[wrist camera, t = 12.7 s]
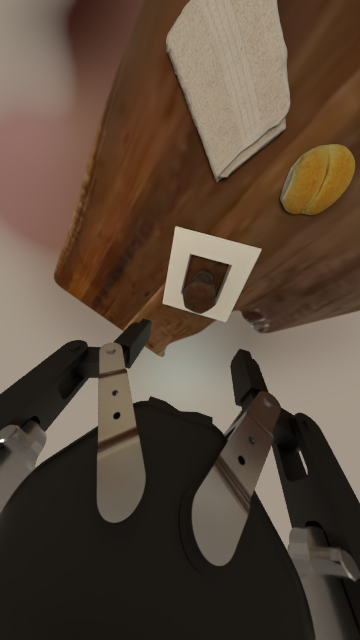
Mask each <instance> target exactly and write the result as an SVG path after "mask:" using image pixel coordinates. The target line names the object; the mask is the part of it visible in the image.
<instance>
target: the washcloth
mask: <svg viewBox="0 0 360 640" xmlns="http://www.w3.org/2000/svg"><path fill="white" fill-rule="evenodd" d="M166 47H167V53H168V54H169V57H170V59H171V63H172V64H173V68H174V70H175V75H177V77H178V80H179V84H180V85H181V87H182V90H183V92H184V95H185V98H186V100H187V101H186V103H187V104H188V107H189V110H190V112H191V114H192V119H193V121H194V124H195V126H196V127H197V130H198V133H199V134H200V137H201V140H202V143H203V146H204V149H205V151H206V155H207V157H208V160H209V162H210V166H211V169H212V172H213V174H214V178H215V180H216V182H218V181H219V180H220V179H221V178H223V177H228V175H229V174H231V173H232V172H234V171H235V170H236V169H237V168H239V167H240V166H241V165H242V164H243V163H245V162H246V161H247V160H248V159H249V158H250V157H252V156H253V155H254V154H255V153H257V152H258V151H259V150H261V149H262V148H263V147H264V146H266V145H267V144H268V143H269V142H271V141H272V140H273V139H274V138H276V137H277V136H278V135H279V134H280V133H281V132H283V131H284V130H285V129H286V124H285V123H286V119H285V116H286V114H287V112H288V111H289V107H290V92H289V87H288V80H287V48H286V45H285V42H284V39H283V34H282V29H281V25H280V20H279V14H278V7H277V0H190V2H188V4H187V5H186V6H185V7H184V9H183V11H182V13H181V15H180V16H179V17H178V19H177V20H176V22H175V24H174V26H173V27H172V28H171V30H170V32H169V33H168V36H167V40H166Z"/></svg>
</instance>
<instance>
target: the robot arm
mask: <svg viewBox="0 0 360 640" xmlns="http://www.w3.org/2000/svg"><path fill="white" fill-rule="evenodd" d="M151 323H152V322H151V321H149V320H146V319H142V320H141V321H140V322H139V323H137V322H135V323H133V324H131V325H130V326H129V327H128V328H127V329H126V330H125V331H124V332H123V333H122V334H121V335H120V336H119V337H118V338H117V339H116V340H115V341H114V342H113V343H108V344H105V345H103V346H102V347H88V345H87V343H86V342H85V341H81V340H75V341H71V342H68V343H66V344H65V345H64V346H62V347H61V348H60V349H58V350H57V351H56V352H54V353H53V354H52V355H51V356H49V357H48V358H47V359H45V360H44V361H43V362H41V363H40V364H39V365H38V366H36V367H35V368H34V369H32V370H31V371H30V372H29V373H27V374H26V375H25V376H23V377H22V378H21V379H19V380H18V381H17V382H15V383H14V384H13V385H12V386H10V387H9V388H8V389H7V390H5V391H4V392H3V393H1V394H0V640H360V503H359V501H358V499H357V497H356V495H355V493H354V491H353V490H352V488H351V486H350V484H349V482H348V480H347V478H346V476H345V475H344V473H343V471H342V469H341V467H340V465H339V463H338V461H337V459H336V457H335V456H334V454H333V452H332V450H331V448H330V446H329V444H328V442H327V441H326V439H325V437H324V435H323V433H322V431H321V429H320V428H319V426H318V425H317V424H316V423H315V422H314V421H313V420H312V419H311V418H310V417H308V416H307V415H305V414H303V413H297V414H295V415H292V414H291V413H289V412H287V411H286V410H284V409H283V408H281V406H280V404H279V402H278V401H277V400H276V398H275V397H274V396H273V395H271V394H270V393H269V392H268V390H267V387H266V385H265V382H264V379H263V377H262V373H261V371H260V368H259V365H258V364H257V362H256V361H255V360H254V359H252V357H251V354H250V352H249V351H245V350H242V349H239V350H238V352H237V354H236V355H235V357H234V358H233V360H232V362H231V374H232V382H233V389H234V396H235V402H236V405H238V406H241V407H242V411H241V412H240V413H239V415H238V416H237V417H236V419H235V420H234V421H233V423H232V424H231V426H230V427H229V429H228V430H227V431H226V432H225V434H223V433H222V432H221V431H220V430H219V429H218V428H217V427H216V426H215V425H214V424H212V417H209V416H206V415H203V414H201V413H198V412H182V411H179V410H177V409H176V408H174V407H173V406H171V405H170V404H168V403H167V402H165V401H163V400H160V399H157V398H154V397H151V396H150V398H149V401H140V402H136V403H132V398H131V392H130V386H129V380H128V374H127V370H126V369H125V367H126V368H130V367H131V366H132V364H133V363H134V361H135V360H136V358H137V357H138V355H139V353H140V352H141V350H142V349H143V347H144V346H145V344H146V343H147V341H148V339H149V336H150V331H151ZM88 378H98V381H99V382H98V384H99V385H98V426H97V427H95V428H94V429H92V430H91V431H89V432H88V433H86V434H85V435H83V436H82V437H80V438H79V439H77V440H76V441H74V442H73V443H71V444H70V445H68V446H67V447H65V448H63V449H62V450H60V451H59V452H57V453H56V454H54V455H53V456H51V457H50V458H48V459H47V460H45V461H44V462H42V463H41V464H40V465H39V466H37V467H36V468H35V464H36V460H37V458H38V455H39V454H40V452H41V451H42V449H43V447H44V445H45V443H46V434H45V431H46V430H47V429H48V427H49V426H50V425H51V424H52V423H53V421H54V420H55V419H56V418H57V416H58V415H59V414H60V412H62V410H63V409H64V408H65V407H66V405H67V404H68V403H69V402H70V400H71V399H72V398H73V397H74V396H75V394H76V393H77V392H78V391H79V389H80V388H81V387H82V386H83V384H84V383H85V382H86V381H87V380H88ZM271 445H272V448H273V452H274V456H275V460H276V464H277V468H278V473H279V476H280V480H281V484H282V489H283V493H284V497H285V501H286V505H287V509H288V513H289V518H290V522H291V525H292V530H291V531H290V535H289V543H290V544H289V545H288V551H287V549H286V548H285V546H284V544H283V542H282V540H281V538H280V536H279V535H278V533H277V531H276V529H275V527H274V526H273V524H272V522H271V520H270V518H269V516H268V514H267V512H266V511H265V509H264V507H263V505H262V503H261V501H260V500H259V498H258V496H257V494H256V492H255V490H254V489H255V486H256V484H257V481H258V479H259V476H260V473H261V471H262V468H263V466H264V463H265V461H266V458H267V456H268V453H269V451H270V448H271ZM299 451H301V453H302V455H303V458H304V460H305V463H306V466H307V469H308V475H307V474H306V471H305V469H304V466H303V463H302V461H301V458H300V455H299Z"/></svg>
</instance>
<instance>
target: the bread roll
mask: <svg viewBox="0 0 360 640" xmlns="http://www.w3.org/2000/svg"><path fill="white" fill-rule="evenodd" d="M354 171H355V160H354V157H353V155H352V153H351V152H350V151H349V150H348V149H347V148H346V147H345V146H342V145H339V144H331V145H322V146H318V147H316V148H314V149H311V150H310V151H308V152H306V153H304V154H303V155H302V156H301V157H300V158H299V159H298V160H297V161H296V163H295V164H294V165H293V166H292V167H291V169H290V171H289V173H288V176H287V178H286V180H285V183H284V186H283V189H282V193H281V197H280V201H281V202H282V204H283V207H284V209H285V210H286V211H288V212H289V213H291V214H299V213H303V214H306V215H315V214H318V213H320V212H322V211H323V210H325V209H327V208H328V207H329V206H331V205H332V204H333V203H334V202H335V201H336V200H337V199H338V198H339V197H340V196H341V195H342V194H343V192H344V191H345V190H346V188H347V187H348V185H349V184H350V182H351V180H352V177H353V174H354Z"/></svg>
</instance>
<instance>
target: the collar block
mask: <svg viewBox="0 0 360 640" xmlns="http://www.w3.org/2000/svg"><path fill="white" fill-rule="evenodd" d="M261 250H262V249H260V248H256V247H252V246H248V245H245V244H241V243H237V242H233V241H230V240H226V239H222V238H218V237H214V236H211V235H207V234H203V233H199V232H196V231H192V230H188V229H184V228H180V227H177V226H176V227H175V233H174V239H173V245H172V251H171V256H170V262H169V268H168V274H167V280H166V286H165V291H164V297H163V304H166V305H169V306H173V307H176V308H179V309H183V310H186V311H189V312H192V311H190V310H188V309H187V308H185V306H184V301H183V293H182V290H183V288H184V284H185V280H186V276H187V272H188V268H189V264H190V260H191V256H192V254H193V255H197V256H200V257H204V258H207V259H211V260H215V261H218V262H222V263H226V264H229V267H228V269H227V272H226V274H225V277H224V279H223V282H222V284H221V287H220V289H219V292H218V294H217V297H216V298H215V300H216V305H215V306H214V307H213V308H211V309H210V310H208V311H206V312H204V313H202V314H199V315H203V316H206V317H210V318H213V319H216V320H220V321H223V322H227V319H228V317H229V315H230V313H231V311H232V309H233V307H234V305H235V303H236V301H237V299H238V297H239V295H240V293H241V291H242V289H243V287H244V285H245V283H246V281H247V279H248V277H249V274H250V272H251V270H252V268H253V266H254V264H255V262H256V260H257V258H258V256H259V254H260V252H261ZM193 313H195V312H193ZM196 314H198V313H196Z"/></svg>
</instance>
